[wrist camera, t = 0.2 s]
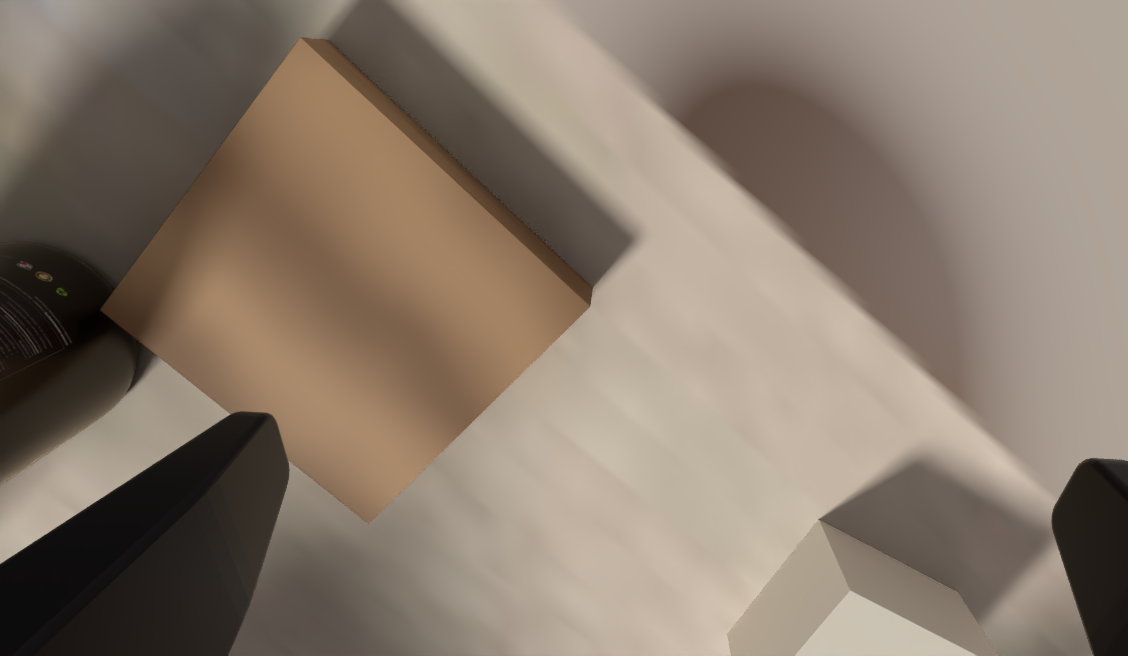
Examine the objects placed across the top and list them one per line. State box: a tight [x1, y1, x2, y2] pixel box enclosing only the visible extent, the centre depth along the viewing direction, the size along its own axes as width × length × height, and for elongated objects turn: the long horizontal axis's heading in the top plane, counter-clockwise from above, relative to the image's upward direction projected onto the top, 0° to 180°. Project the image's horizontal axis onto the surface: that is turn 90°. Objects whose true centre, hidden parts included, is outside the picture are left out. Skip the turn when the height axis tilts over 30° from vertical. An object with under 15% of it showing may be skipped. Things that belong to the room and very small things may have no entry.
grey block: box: [727, 519, 999, 656], centre depth 26 cm, size 6×6×4 cm
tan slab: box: [100, 38, 593, 524], centre depth 24 cm, size 11×11×2 cm
